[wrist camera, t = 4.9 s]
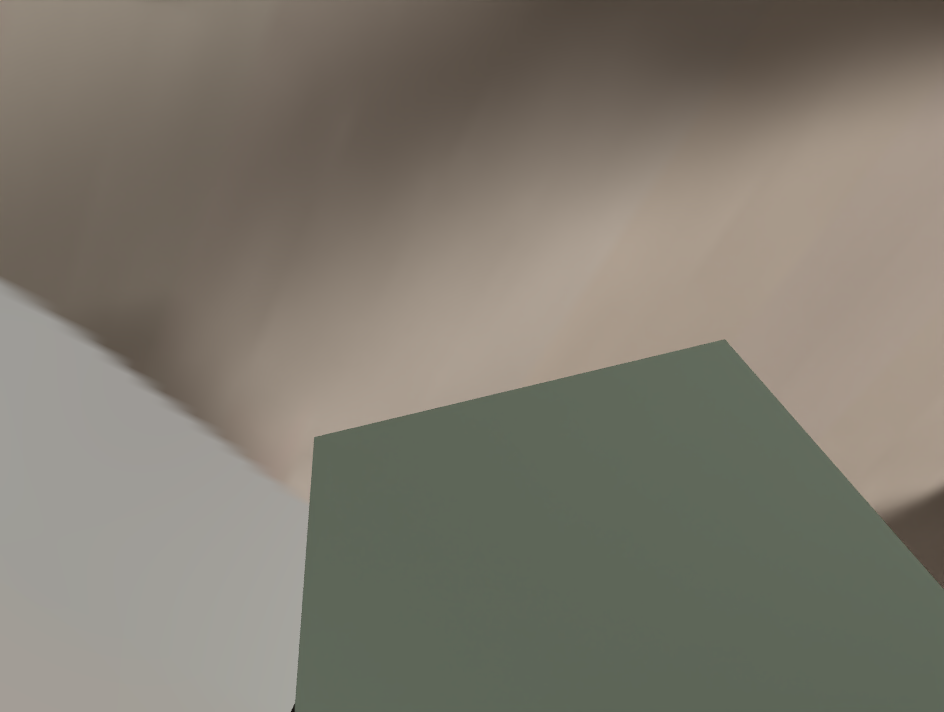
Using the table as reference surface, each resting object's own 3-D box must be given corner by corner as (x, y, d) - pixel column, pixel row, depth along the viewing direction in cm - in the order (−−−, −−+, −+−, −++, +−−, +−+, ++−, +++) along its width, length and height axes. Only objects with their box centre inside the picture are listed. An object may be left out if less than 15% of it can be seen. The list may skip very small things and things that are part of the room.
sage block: (724, 339, 9) (1057, 718, 5) (731, 617, 12) (951, 1026, 7) (314, 437, 9) (280, 912, 5) (411, 695, 12) (446, 1155, 7)
